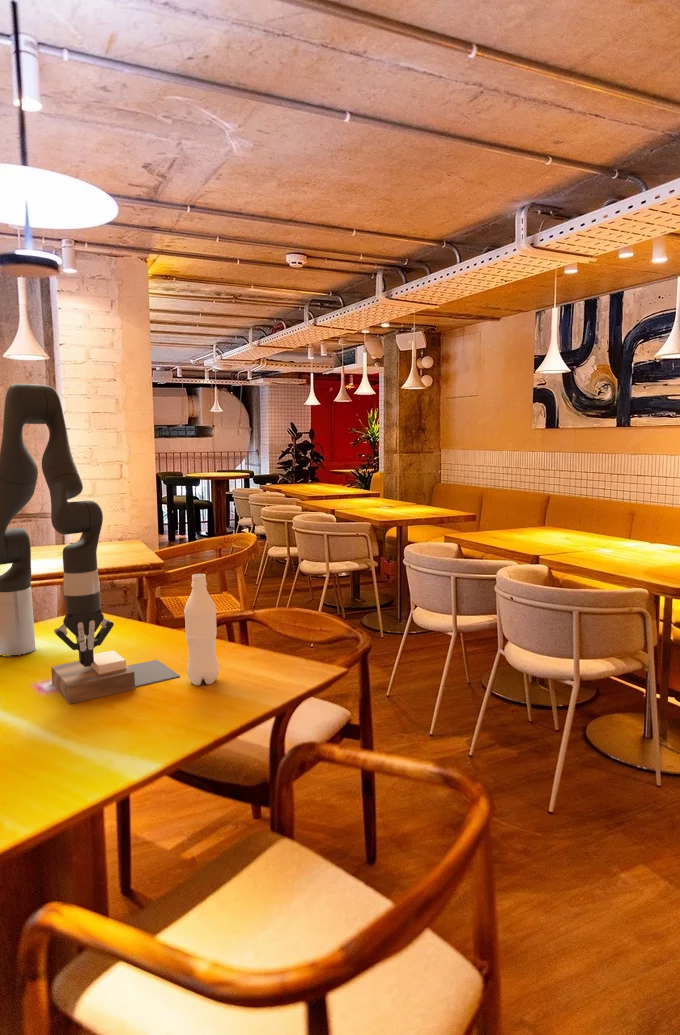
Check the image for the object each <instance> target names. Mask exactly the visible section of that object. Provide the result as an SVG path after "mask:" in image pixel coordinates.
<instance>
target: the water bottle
mask: <svg viewBox="0 0 680 1035" xmlns="http://www.w3.org/2000/svg"><path fill="white" fill-rule="evenodd" d="M191 580H192V581H191V585H190V587H191V593H190V595H189V597H188V599H187V601H186V604H185V606H184V611H183V614H184V620H185V622H184V623H185V624H184V625H185V627H184V628H185V637H186V642H187V643H186V644H187V647H188V660H187V666H186V674H187V677H188V679H189V681H190V682H191V683H192V684H193V685H194V686H200V685H201V684H202V682H203V680H204V682H205V684H206V686H207V685H212V684H213V683H214V682H215V681H216V679H217V678H218V675H219V671H220V670H219V668H220V667H219V666H220V665H219V662H218V658H217V655H216V654H217V652H216V638H217V634H218V632H217V606H216V604H215V602H214V600H213V598H212V597H211V595H210V593H209V592H208V590H207V586H208V583H207V580H206V574H204V573H195V574H192V575H191Z"/></svg>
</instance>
